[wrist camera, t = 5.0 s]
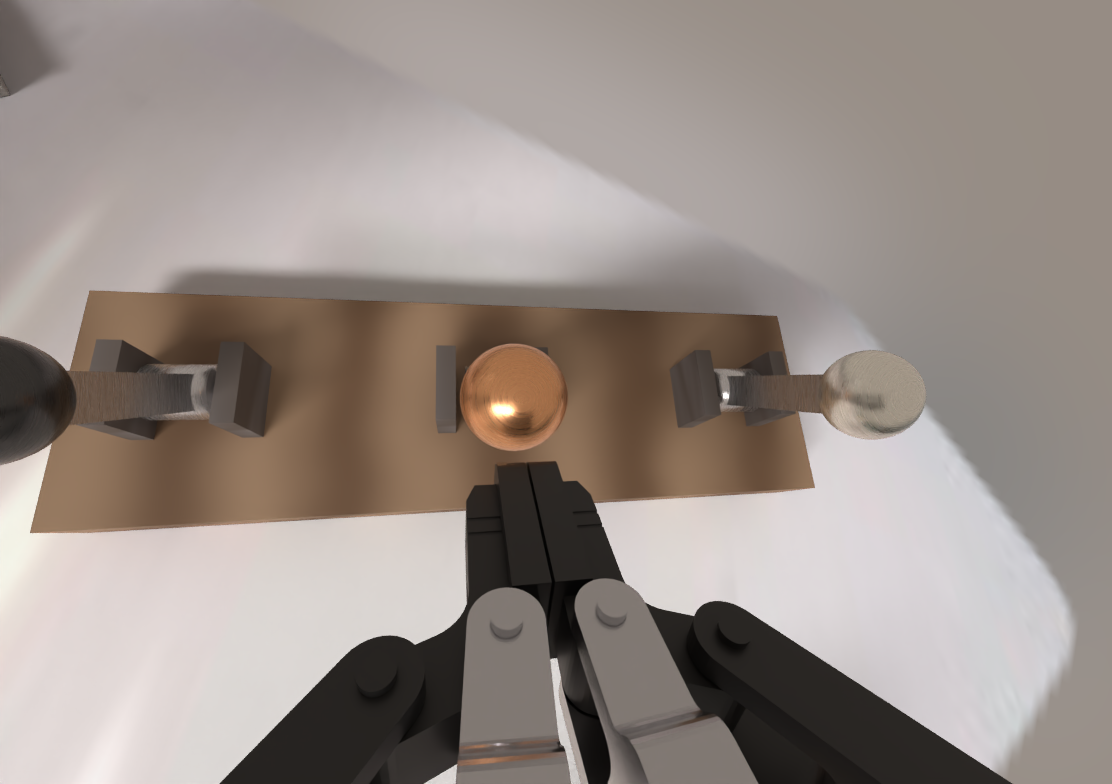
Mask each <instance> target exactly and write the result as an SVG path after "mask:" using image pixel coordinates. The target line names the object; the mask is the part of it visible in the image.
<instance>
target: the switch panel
mask: <svg viewBox="0 0 1112 784" xmlns="http://www.w3.org/2000/svg"><path fill="white" fill-rule="evenodd" d="M504 344H524V345H528V346H531V347H534V348H537V349H538V350H540V351H542V352H544V353H545V354H546V355H548V356H549V357H550V358H551V359H552V360H553V361H554V362H555V363H556V364H557V366H558V367H559V369H560V370H561V372H562V374H563V376H564V379H565V382H566V386H567V392H568V403H567V409H566V413H565V416H564V418H563V420H562V423H561V424H560V426H559V427H558V429H557V430H556V431H555V433H554V434H553V435H552V436H551V437H550V438H548V439H547V440H546V441H544V442H543V443H541V444H539V445H538V446H536V447H533V448H530V449H527V450H522V451H506V450H500V449H497V448H494V447H492V446H490V445H488V444H486V443H485V442H483V441H482V440H480V439H479V438H478V437H477V436H476V435H475V434H474V433H473V432H472V431H471V430H470V428H469V427H468V425H467V423H466V421H465V420H464V417H463V414H462V411H461V406H460V388H461V383H462V380H463V378H464V375H465V366H470V365H471V364H472V363H473V362H474V360H475V359H476V358H478V357H479V356H480V355H481V354H482V353H484V352H486V351H487V350H489V349H491V348H493V347H496V346H499V345H504ZM146 364H217V371H216V377H215V384H214V390H213V397H212V404H211V410H210V417H209V420H145V419H143V418H142V417H138V418H129V419H120V420H112V421H103V422H94V423H86V424H77V425H69V426H68V427H67V428H66V430H65V431H64V432H63V433H62V434H61V435H60V436H59V437H58V438H57V439H56V440H55V441H54V442H52V445H51V449H50V453H49V458H48V462H47V466H46V470H45V474H44V478H43V482H42V486H41V490H40V494H39V498H38V502H37V506H36V510H35V514H34V518H33V522H32V527H31V531H30V533H93V532H110V531H127V530H144V529H161V528H178V527H195V526H212V525H229V524H246V523H263V522H280V521H297V520H314V519H331V518H348V517H365V516H382V515H399V514H416V513H433V512H450V511H466V500H467V498H468V496H469V494H470V493H471V491H472V489H473V487H474V485H492V484H494V473H495V464H496V463H517V462H525V463H527V462H543V461H556V462H557V464H558V467H559V470H560V474H561V477H562V480H563V481H578V482H579V483H580V484H581V485H582V486H583V487H584V488H585V489H586V490H587V491H588V492H589V493H590V494H591V496H592V499H593V502H594V503H603V502H620V501H637V500H654V499H671V498H688V497H705V496H722V495H739V494H756V493H773V492H783V491H792V490H800V489H808V488H815V486H814V481H813V477H812V472H811V468H810V463H809V459H808V454H807V450H806V445H805V441H804V436H803V431H802V427H801V422H800V418H799V413H798V411H789V410H778V409H766V408H758V409H757V410H755V411H751V412H721V409H720V404H719V398H718V392H717V386H716V380H715V374H714V369H713V368H719V369H754V370H756V371H757V372H758V373H759V374H760V375H761V376H771V375H790V372H789V368H788V363H787V359H786V354H785V350H784V345H783V341H782V336H781V332H780V327H779V322H778V318H777V316H762V315H735V314H708V313H681V312H654V311H627V310H600V309H573V308H546V307H519V306H492V305H465V304H438V303H411V302H384V301H357V300H330V299H303V298H276V297H249V296H222V295H195V294H168V293H140V292H113V291H89V295H88V299H87V303H86V307H85V311H84V315H83V320H82V324H81V328H80V332H79V336H78V340H77V344H76V348H75V352H74V356H73V360H72V364H71V368H70V371H93V372H132V373H137V371H138V370H139V369H140V368H141V367H142V366H144V365H146Z"/></svg>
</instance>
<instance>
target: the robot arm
mask: <svg viewBox="0 0 1112 784" xmlns="http://www.w3.org/2000/svg"><path fill="white" fill-rule="evenodd" d="M465 551H466V593H467V605H466V607H465V610H464V612H463V613H462V615H461V616H460V618H459V619H458V620H457V621H456V622H455V623H454V624H453V625H452V626H451V627H450V628H448V629H447V630H445V631H444V632H442V633H440V634H438V635H437V636H434V637H432V638H430V639H427V640H425V641H423V642H421V643H418V644H416V645H414V644H413V643H412V642H410V641H409V640H407V639H405V638H402V637H398V636H380V637H376V638H372V639H370V640H367V641H365V642H363V643H361V644H359V645H358V646H356V647H355V648H353V649H352V650H351V651H350V652H349V653H347V654H346V655H345V656H344V657H343V658H342V659H341V660H340V661H339V662H338V663H337V664H336V665H335V666H334V667H333V668H332V669H331V670H330V672H329V673H328V674H327V675H326V676H325V677H324V678H323V679H322V680H321V681H320V682H319V683H318V684H317V685H316V686H315V687H314V688H313V689H312V690H311V691H310V692H309V693H308V694H307V695H306V696H305V697H304V698H303V699H302V700H301V701H300V702H299V703H298V704H297V705H296V706H295V707H294V708H293V709H292V710H291V711H290V712H289V713H288V714H287V715H286V716H285V717H284V718H283V719H282V720H281V721H280V722H279V724H278V725H277V726H276V727H275V728H274V729H273V730H272V731H271V732H270V733H269V734H268V735H267V736H266V737H265V738H264V739H263V740H262V741H261V742H260V743H259V744H258V745H257V746H256V747H255V748H254V749H253V750H252V751H251V752H250V753H249V754H248V755H247V756H246V757H245V758H244V759H243V760H242V761H241V762H240V763H239V764H238V765H237V766H236V767H235V768H234V769H233V770H232V771H231V772H230V773H229V775H228V776H227V777H226V778H225V779H224V780H223V781H222V782H221V783H220V784H424V783H426V782H427V781H429V780H431V779H432V778H434V777H436V776H437V775H439V774H441V773H442V772H444V771H446V770H448V769H449V768H451V767H453V766H454V765H456V764H457V775H456V784H571V780H570V773H569V766H568V761H567V756H566V752H565V749H564V747H563V746H562V745H561V744H560V741H559V736H558V729H557V720H556V710H555V701H554V692H553V682H552V673H551V663H550V659H552V658H557V659H558V664H559V669H560V674H561V680H560V685H559V700H560V705H561V708H562V712H563V716H564V720H565V724H566V728H567V732H568V736H569V740H570V743H571V747H572V751H573V755H574V759H575V763H576V767H577V771H578V775H579V778H580V782H581V784H1012V783H1010V782H1009V781H1007V780H1006V779H1004V778H1003V777H1001V776H1000V775H998V774H997V773H995V772H993V771H992V770H990V769H989V768H987V767H986V766H984V765H983V764H981V763H980V762H978V761H977V760H975V759H974V758H972V757H970V756H969V755H967V754H966V753H964V752H963V751H961V750H960V749H958V748H957V747H955V746H954V745H952V744H950V743H949V742H947V741H946V740H944V739H943V738H941V737H940V736H938V735H937V734H935V733H934V732H932V731H930V730H929V729H927V728H926V727H924V726H923V725H921V724H920V723H918V722H917V721H915V720H914V719H912V718H910V717H909V716H907V715H906V714H904V713H903V712H901V711H900V710H898V709H897V708H895V707H894V706H892V705H891V704H889V703H887V702H886V701H884V700H883V699H881V698H880V697H878V696H877V695H875V694H874V693H872V692H871V691H869V690H867V689H866V688H864V687H863V686H861V685H860V684H858V683H857V682H855V681H854V680H852V679H851V678H849V677H847V676H846V675H844V674H843V673H841V672H840V671H838V670H837V669H835V668H834V667H832V666H831V665H829V664H827V663H826V662H824V661H823V660H821V659H820V658H818V657H817V656H815V655H814V654H812V653H811V652H809V651H808V650H806V649H804V648H803V647H801V646H800V645H798V644H797V643H795V642H794V641H792V640H791V639H789V638H788V637H786V636H784V635H783V634H781V633H780V632H778V631H777V630H775V629H774V628H772V627H771V626H769V625H768V624H766V623H764V622H763V621H761V620H760V619H758V618H757V617H755V616H754V615H752V614H751V613H749V612H748V611H746V610H744V609H743V608H741V607H739V606H737V605H734V604H731V603H728V602H722V601H713V602H708V603H706V604H704V605H702V606H701V607H700V608H699V609H698V610H697V612H696V614H695V616H690V615H686V614H681V613H676V612H671V611H666V610H662V609H658V608H656V607H653V606H651V605H649V604H647V603H645V602H644V600H643V598H642V597H641V596H640V595H639V593H638V592H637V591H635V590H634V589H633V588H632V587H630V586H629V585H627V584H625V582H624V580H623V578H622V575H621V572H620V570H619V567H618V564H617V562H616V559H615V557H614V554H613V551H612V549H611V546H610V544H609V541H608V538H607V536H606V533H605V530H604V528H603V527H602V523H601V520H600V517H599V515H598V514H597V509H596V507H595V504H594V502H593V499H592V496H591V494H590V493H589V492H588V491H587V490H586V489H585V488H584V487H583V486H582V485H581V484H580V483H579V482H578V481H563V480H562V477H561V474H560V470H559V467H558V464H557V462H556V461H543V462H527V463H525V462H517V463H496V464H495V473H494V484H492V485H474V487H473V489H472V491H471V493H470V494H469V496H468V498H467V500H466V540H465Z"/></svg>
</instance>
